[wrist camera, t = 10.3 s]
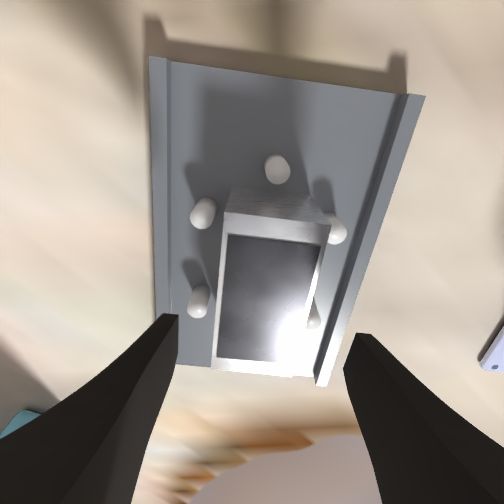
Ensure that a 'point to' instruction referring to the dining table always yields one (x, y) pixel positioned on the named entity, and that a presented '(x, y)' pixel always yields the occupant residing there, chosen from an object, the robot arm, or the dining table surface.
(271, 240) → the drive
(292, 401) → the dining table surface
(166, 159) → the pin tray
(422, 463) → the robot arm
